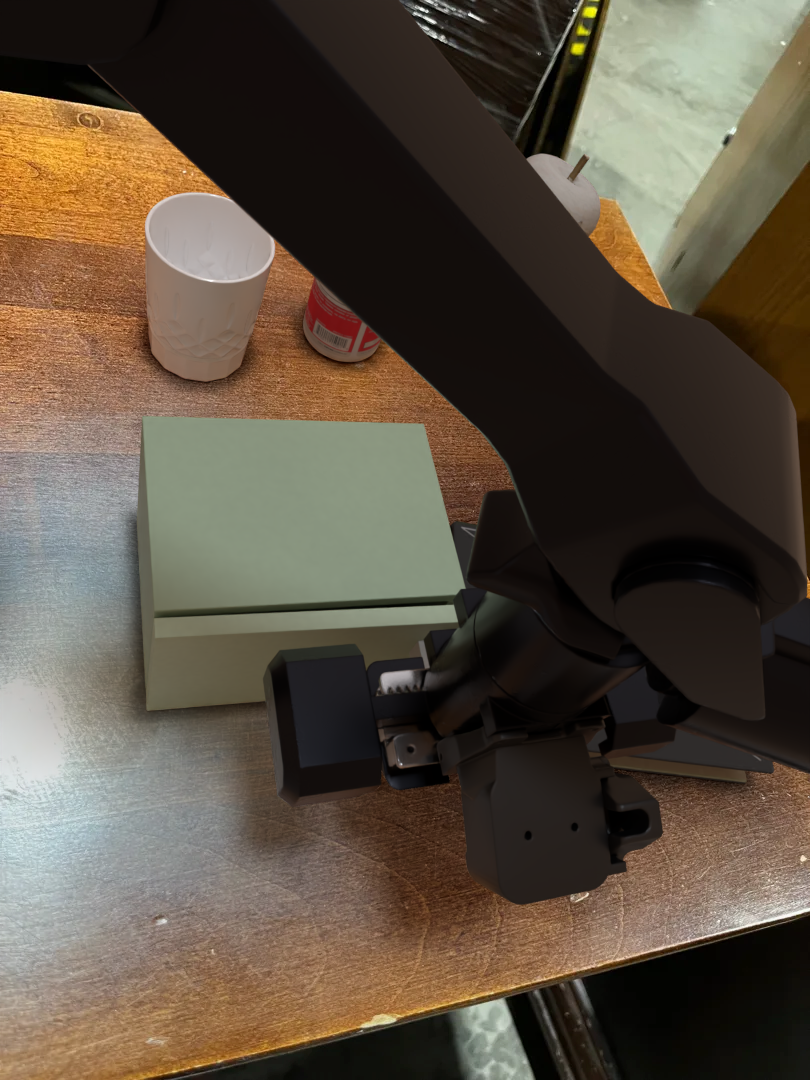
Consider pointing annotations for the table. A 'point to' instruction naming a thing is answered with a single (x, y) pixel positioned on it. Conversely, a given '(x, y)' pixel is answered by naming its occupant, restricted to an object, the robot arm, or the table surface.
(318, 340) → the pill bottle
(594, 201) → the decorative object
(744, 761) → the book
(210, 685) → the door
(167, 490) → the cupboard
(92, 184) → the table surface
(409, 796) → the table surface
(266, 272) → the white cup
